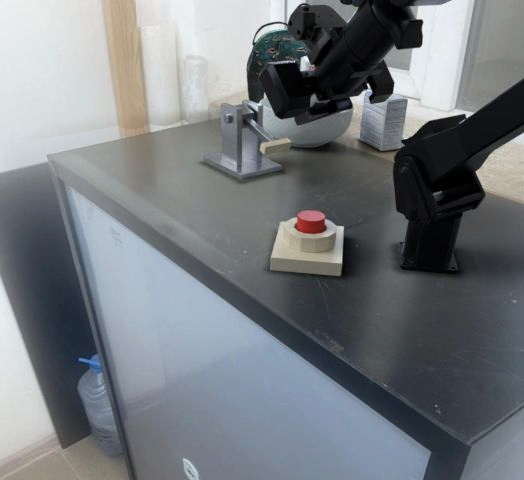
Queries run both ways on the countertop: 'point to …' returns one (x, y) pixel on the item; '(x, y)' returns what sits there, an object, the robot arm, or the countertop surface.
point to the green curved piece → (271, 55)
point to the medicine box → (383, 122)
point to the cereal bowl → (306, 127)
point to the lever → (262, 133)
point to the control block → (308, 249)
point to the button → (310, 222)
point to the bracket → (241, 144)
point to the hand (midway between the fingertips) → (297, 122)
